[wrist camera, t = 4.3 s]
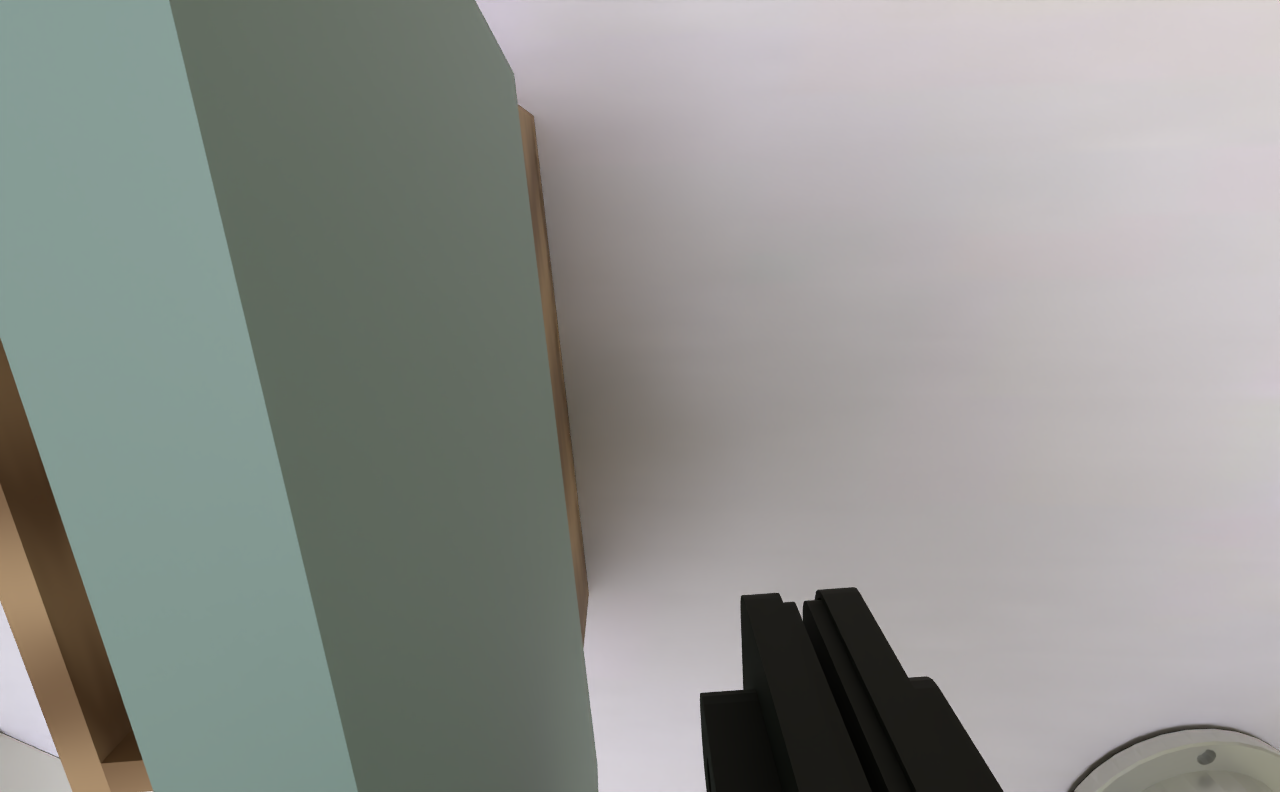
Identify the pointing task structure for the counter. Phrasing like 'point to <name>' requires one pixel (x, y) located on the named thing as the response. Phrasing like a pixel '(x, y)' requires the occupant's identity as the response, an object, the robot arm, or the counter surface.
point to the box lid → (296, 388)
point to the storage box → (57, 600)
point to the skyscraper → (29, 769)
